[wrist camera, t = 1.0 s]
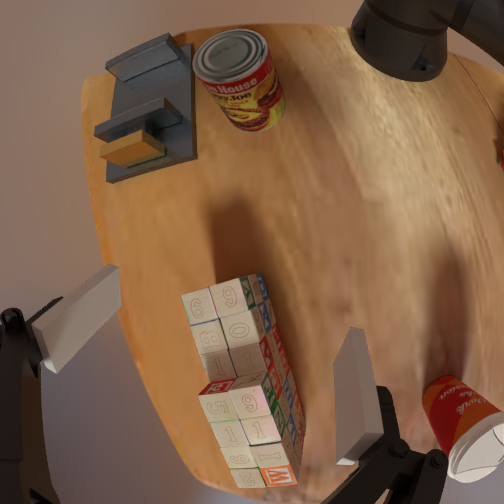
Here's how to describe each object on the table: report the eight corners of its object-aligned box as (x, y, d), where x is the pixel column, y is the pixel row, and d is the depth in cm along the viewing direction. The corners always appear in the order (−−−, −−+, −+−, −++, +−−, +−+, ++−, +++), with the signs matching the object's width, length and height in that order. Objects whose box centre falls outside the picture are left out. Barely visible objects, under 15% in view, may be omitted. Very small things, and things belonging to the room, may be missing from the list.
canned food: (218, 124, 36) (179, 77, 24) (242, 79, 36) (213, 26, 24) (271, 139, 34) (247, 89, 23) (294, 92, 34) (279, 33, 22)
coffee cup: (476, 377, 26) (532, 424, 12) (444, 426, 27) (482, 488, 12) (435, 358, 28) (490, 410, 14) (401, 412, 29) (432, 482, 14)
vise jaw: (181, 150, 35) (159, 134, 30) (112, 172, 38) (86, 162, 32) (180, 110, 36) (160, 90, 30) (114, 134, 38) (91, 121, 33)
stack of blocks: (215, 286, 36) (163, 297, 24) (262, 271, 34) (230, 277, 22) (262, 433, 33) (237, 490, 21) (307, 426, 32) (297, 486, 20)
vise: (197, 158, 37) (174, 141, 30) (112, 183, 40) (83, 173, 34) (194, 48, 38) (177, 25, 32) (121, 78, 41) (100, 61, 35)
